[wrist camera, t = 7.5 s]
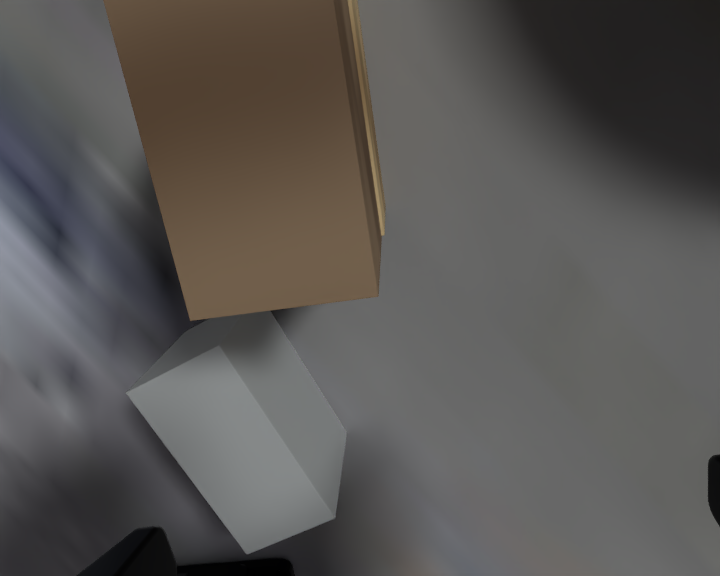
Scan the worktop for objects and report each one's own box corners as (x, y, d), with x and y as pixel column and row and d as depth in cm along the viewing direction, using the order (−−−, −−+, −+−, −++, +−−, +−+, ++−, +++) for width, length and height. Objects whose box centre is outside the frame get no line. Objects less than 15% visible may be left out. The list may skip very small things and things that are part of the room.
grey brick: (347, 431, 22) (335, 518, 17) (277, 462, 22) (246, 554, 18) (259, 291, 20) (219, 345, 15) (186, 330, 21) (126, 392, 16)
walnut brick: (381, 236, 14) (377, 296, 9) (256, 254, 14) (190, 321, 9) (338, -60, 12) (306, -181, 7) (193, -31, 12) (68, -130, 7)
